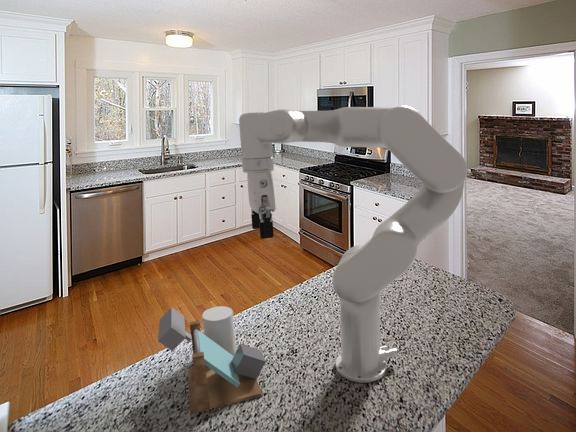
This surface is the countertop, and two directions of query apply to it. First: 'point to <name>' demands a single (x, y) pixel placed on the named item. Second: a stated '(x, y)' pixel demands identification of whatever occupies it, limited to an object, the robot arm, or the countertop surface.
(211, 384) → the frame
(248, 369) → the grey block
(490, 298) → the countertop surface
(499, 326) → the countertop surface
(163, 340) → the trapdoor
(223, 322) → the cup
